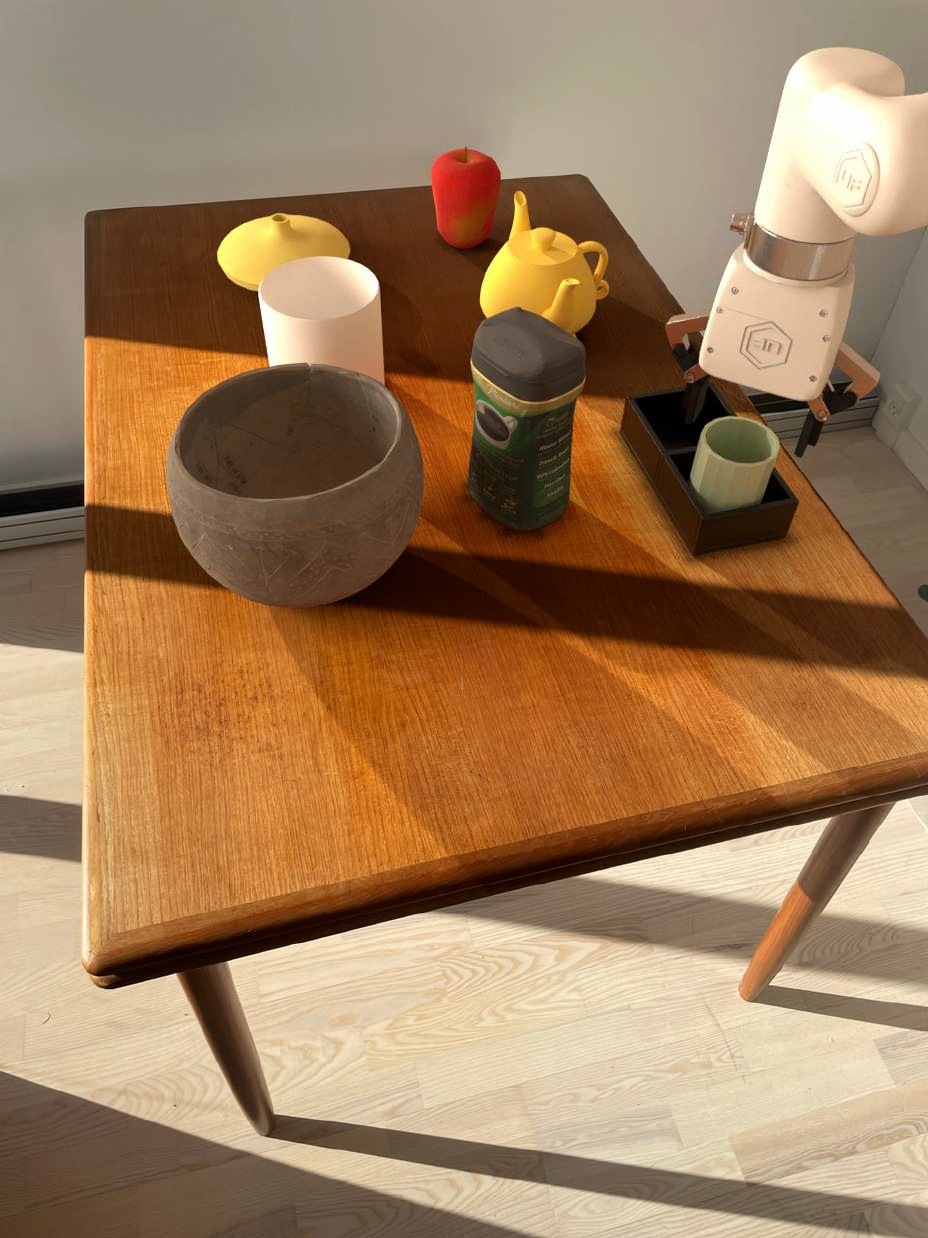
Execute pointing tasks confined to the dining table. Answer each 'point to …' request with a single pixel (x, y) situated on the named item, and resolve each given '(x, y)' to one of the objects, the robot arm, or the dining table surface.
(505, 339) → the coffee jar
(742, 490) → the sage cup
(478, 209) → the apple
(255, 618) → the dining table surface
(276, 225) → the vase
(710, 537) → the black divided tray
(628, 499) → the dining table surface
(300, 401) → the bowl
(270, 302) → the cup
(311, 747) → the dining table surface
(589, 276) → the teapot
